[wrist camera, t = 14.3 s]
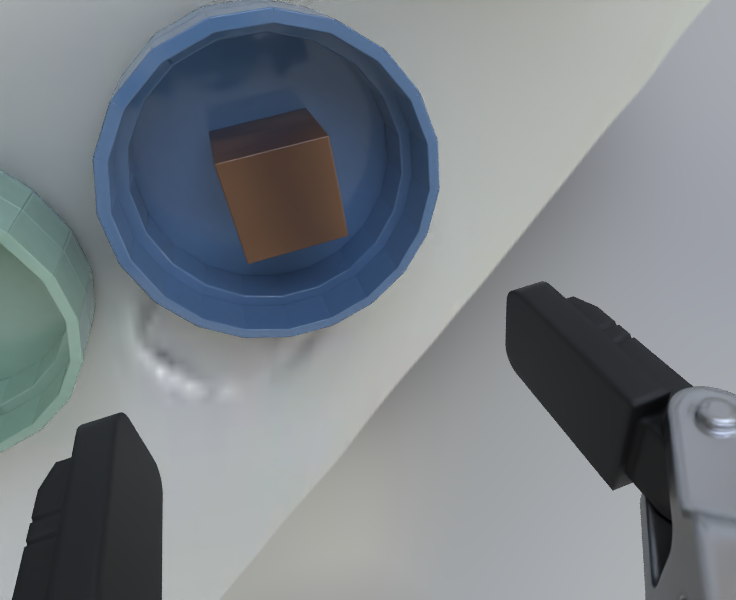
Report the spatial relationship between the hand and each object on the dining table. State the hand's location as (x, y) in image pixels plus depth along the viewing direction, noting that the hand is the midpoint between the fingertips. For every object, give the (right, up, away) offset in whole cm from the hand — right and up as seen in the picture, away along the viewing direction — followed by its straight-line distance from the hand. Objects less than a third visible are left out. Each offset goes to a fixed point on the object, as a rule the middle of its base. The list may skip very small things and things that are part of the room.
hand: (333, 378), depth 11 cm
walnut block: (-4, +8, +14) cm, 17 cm away
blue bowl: (-4, +8, +15) cm, 18 cm away
